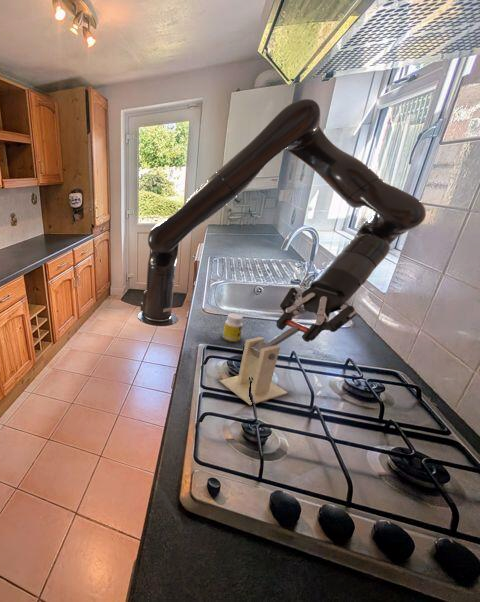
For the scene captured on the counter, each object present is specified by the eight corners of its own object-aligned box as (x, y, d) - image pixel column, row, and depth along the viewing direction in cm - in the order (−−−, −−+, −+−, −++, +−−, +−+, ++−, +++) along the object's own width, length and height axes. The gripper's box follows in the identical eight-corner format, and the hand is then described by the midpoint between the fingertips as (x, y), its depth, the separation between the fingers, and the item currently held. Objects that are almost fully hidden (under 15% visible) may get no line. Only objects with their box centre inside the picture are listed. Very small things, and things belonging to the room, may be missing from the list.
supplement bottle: (238, 346, 90) (243, 320, 87) (221, 342, 92) (225, 317, 89) (239, 339, 94) (244, 314, 91) (223, 335, 96) (227, 311, 93)
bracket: (253, 374, 77) (264, 330, 72) (286, 396, 69) (300, 348, 64) (219, 384, 73) (227, 338, 69) (249, 408, 66) (261, 358, 61)
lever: (290, 324, 72) (289, 316, 71) (313, 334, 67) (313, 326, 66) (246, 351, 70) (245, 343, 69) (267, 364, 65) (266, 355, 64)
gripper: (305, 259, 72) (257, 313, 73) (377, 275, 59) (318, 340, 60) (315, 277, 76) (269, 328, 77) (384, 296, 63) (329, 357, 64)
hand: (291, 333), depth 68 cm, fingers closed on lever, 5 cm apart
